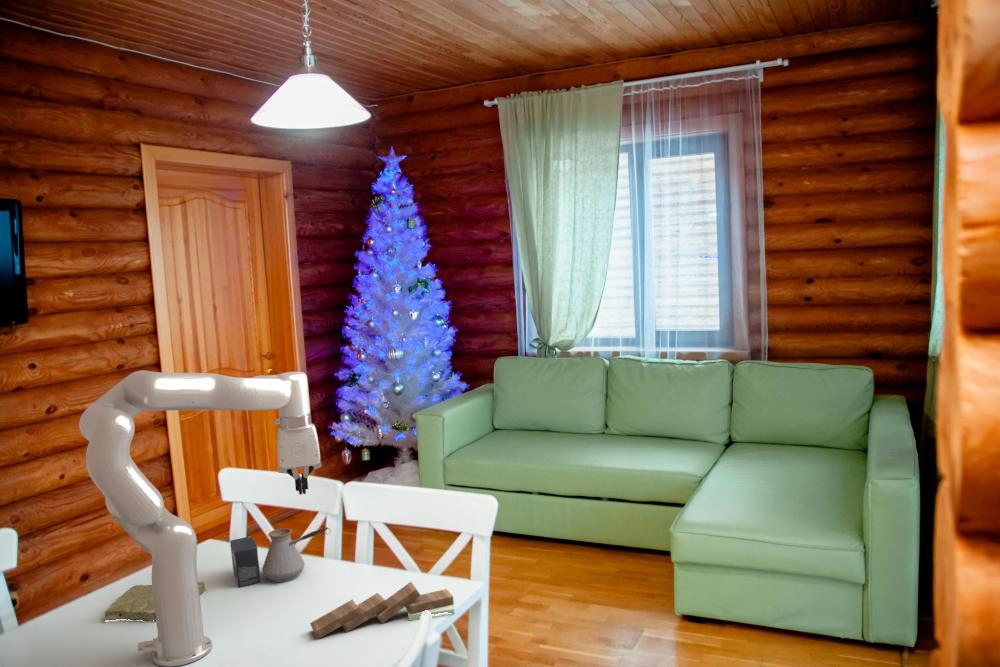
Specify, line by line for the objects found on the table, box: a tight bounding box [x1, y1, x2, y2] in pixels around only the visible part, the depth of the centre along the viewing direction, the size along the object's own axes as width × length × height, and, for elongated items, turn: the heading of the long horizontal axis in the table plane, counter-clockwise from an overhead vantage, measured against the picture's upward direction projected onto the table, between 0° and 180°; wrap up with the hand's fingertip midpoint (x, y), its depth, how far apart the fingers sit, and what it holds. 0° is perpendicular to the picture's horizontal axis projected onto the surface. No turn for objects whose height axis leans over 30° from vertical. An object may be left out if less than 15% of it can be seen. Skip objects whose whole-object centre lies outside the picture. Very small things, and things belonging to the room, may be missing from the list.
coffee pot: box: [262, 526, 331, 583], centre depth 221 cm, size 21×12×15 cm, turn 71°
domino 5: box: [406, 604, 455, 621], centre depth 194 cm, size 2×5×11 cm
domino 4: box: [404, 588, 454, 614], centre depth 195 cm, size 2×5×11 cm
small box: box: [230, 535, 262, 589], centre depth 222 cm, size 11×6×10 cm, turn 25°
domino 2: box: [341, 592, 388, 633], centre depth 191 cm, size 2×5×11 cm
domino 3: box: [375, 581, 421, 624], centre depth 194 cm, size 2×5×11 cm
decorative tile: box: [103, 581, 206, 622], centre depth 208 cm, size 19×20×4 cm
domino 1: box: [309, 599, 361, 640], centre depth 188 cm, size 2×5×11 cm
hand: (302, 492), depth 201 cm, fingers closed
